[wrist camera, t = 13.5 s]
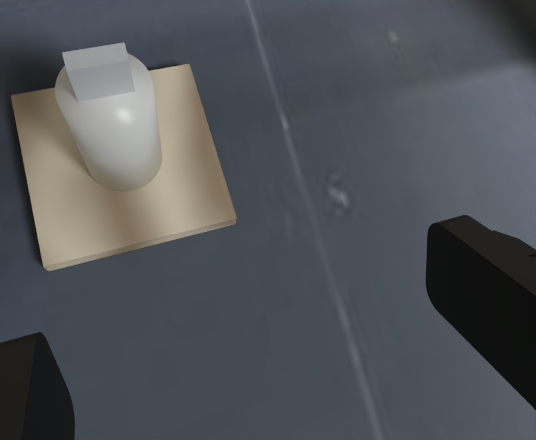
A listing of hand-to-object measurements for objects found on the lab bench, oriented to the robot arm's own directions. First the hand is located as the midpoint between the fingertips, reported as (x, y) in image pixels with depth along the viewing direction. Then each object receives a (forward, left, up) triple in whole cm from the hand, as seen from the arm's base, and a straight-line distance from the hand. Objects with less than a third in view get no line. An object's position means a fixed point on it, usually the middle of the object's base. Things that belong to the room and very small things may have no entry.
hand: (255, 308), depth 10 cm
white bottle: (+2, -14, -21) cm, 25 cm away
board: (+2, -14, -22) cm, 26 cm away
